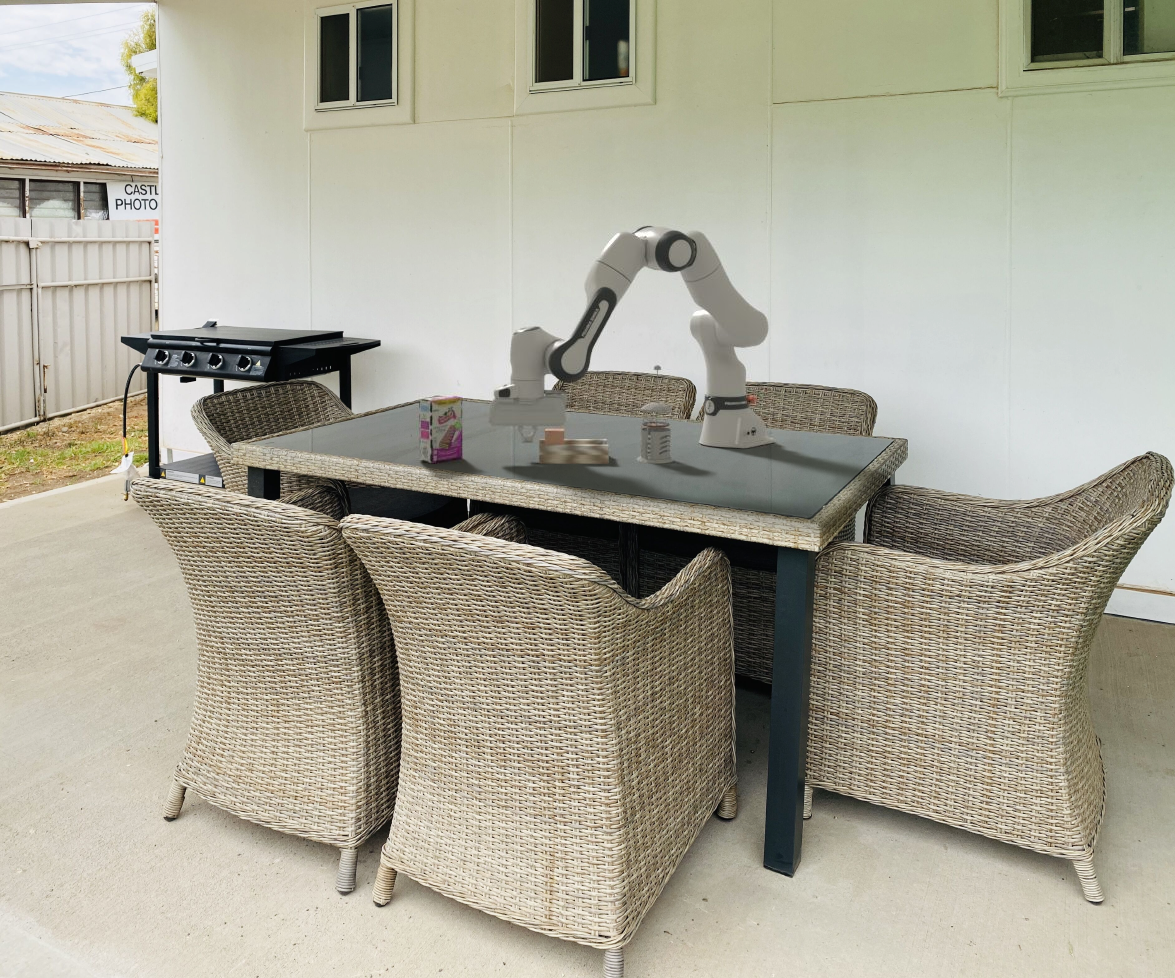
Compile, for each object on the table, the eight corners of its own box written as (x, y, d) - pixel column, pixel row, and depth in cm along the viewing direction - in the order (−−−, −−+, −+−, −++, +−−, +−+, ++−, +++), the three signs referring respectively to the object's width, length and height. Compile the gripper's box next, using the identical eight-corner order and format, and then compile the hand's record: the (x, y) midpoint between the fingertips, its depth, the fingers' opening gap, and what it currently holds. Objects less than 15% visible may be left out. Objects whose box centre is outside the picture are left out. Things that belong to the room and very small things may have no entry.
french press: (679, 458, 260) (682, 364, 254) (660, 466, 250) (662, 368, 244) (647, 455, 264) (649, 362, 259) (626, 462, 255) (628, 366, 249)
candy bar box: (432, 464, 249) (430, 400, 246) (419, 461, 253) (417, 398, 249) (464, 458, 258) (463, 396, 254) (451, 455, 261) (449, 394, 257)
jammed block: (563, 449, 260) (563, 428, 259) (564, 453, 254) (564, 432, 253) (545, 449, 260) (545, 428, 259) (545, 453, 254) (545, 432, 253)
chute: (605, 454, 264) (606, 438, 263) (608, 463, 252) (609, 446, 251) (539, 454, 263) (539, 438, 262) (539, 463, 252) (539, 446, 251)
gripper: (567, 388, 257) (567, 440, 260) (489, 388, 256) (490, 440, 259) (567, 391, 251) (567, 444, 254) (488, 391, 250) (488, 444, 253)
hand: (527, 442), depth 256 cm, fingers closed
